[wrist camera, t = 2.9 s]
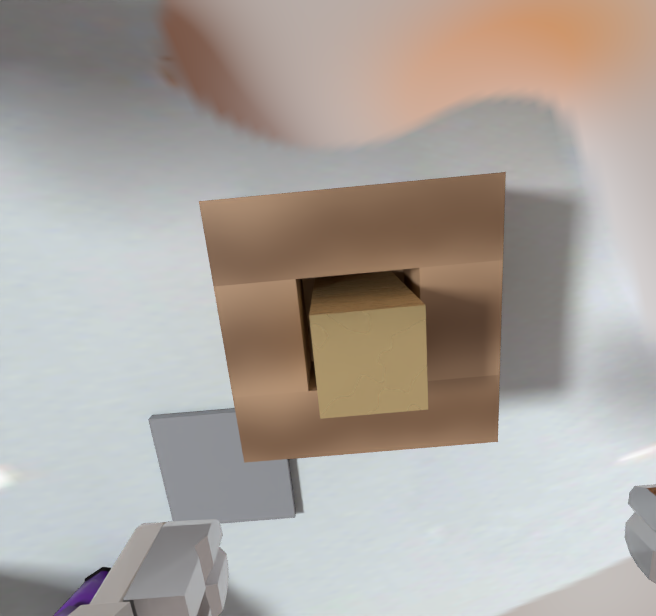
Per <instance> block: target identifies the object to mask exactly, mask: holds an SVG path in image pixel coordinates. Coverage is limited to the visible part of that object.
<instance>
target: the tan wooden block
mask: <svg viewBox="0 0 656 616" xmlns="http://www.w3.org/2000/svg"><path fill="white" fill-rule="evenodd" d="M309 319H310V329H311V338H312V347H313V356H314V365H315V375H316V384H317V393H318V402H319V411H320V419H322V418H334V417H346V416H358V415H370V414H381V413H393V412H405V411H417V410H428V382H427V343H426V305H425V304H424V303H423V302H422V301H421V300H420V299H419V298H418V297H417V296H416V295H415V294H414V293H413V292H412V291H411V290H410V289H409V288H408V287H407V286H406V285H405V284H404V283H403V282H402V281H401V280H400V279H399V278H398V277H397V276H395V275H394V274H393V273H392V272H391V271H384V272H373V273H362V274H352V275H341V276H330V277H319V278H315V280H314V286H313V293H312V300H311V306H310V313H309Z"/></svg>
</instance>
